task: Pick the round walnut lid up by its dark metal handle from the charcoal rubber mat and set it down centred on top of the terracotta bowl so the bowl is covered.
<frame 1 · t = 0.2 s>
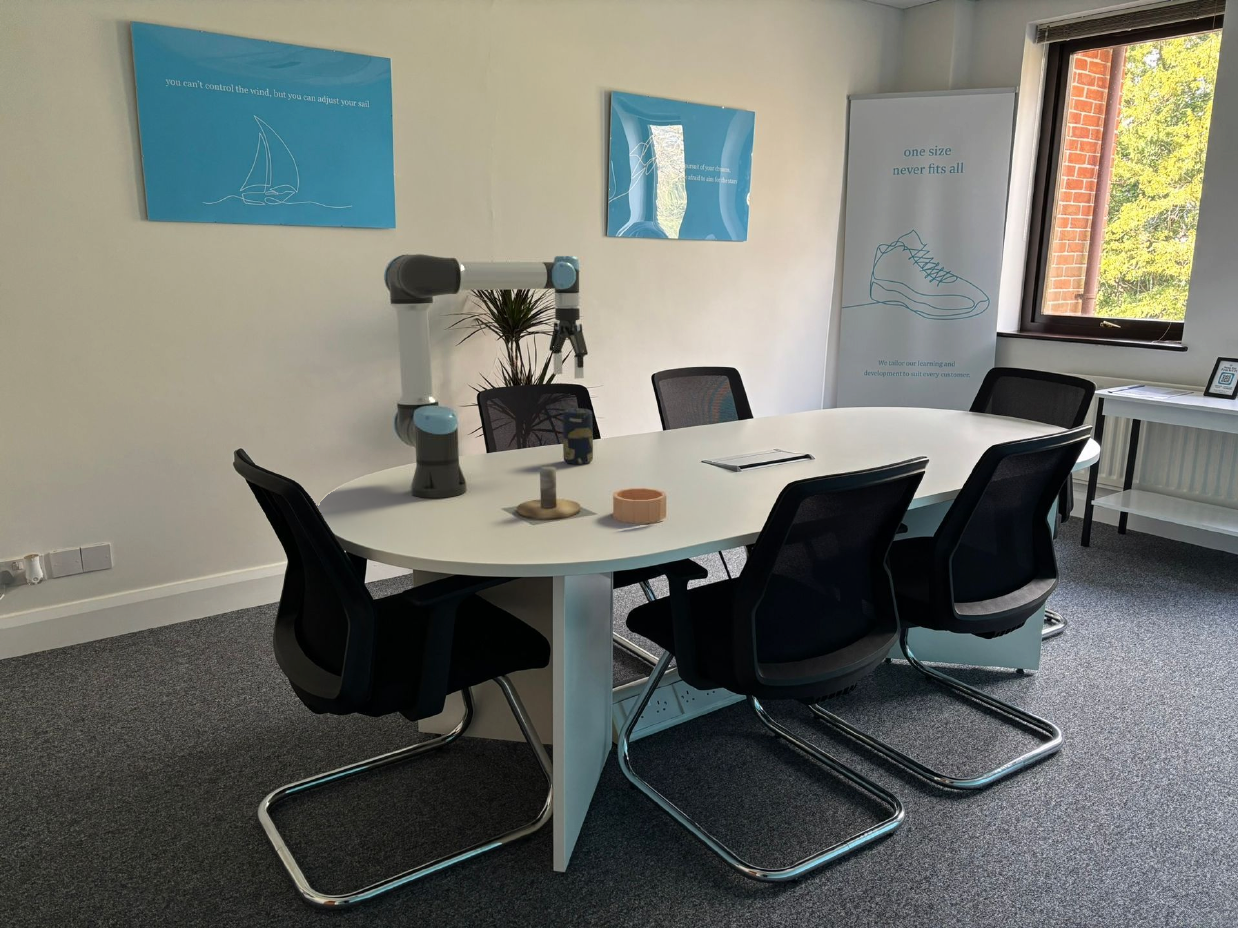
hand: (568, 376, 282), 28 cm above the table, fingers open, 13 cm apart
bowl: (639, 517, 224), on the table
canister: (578, 462, 289), on the table
mat: (548, 513, 229), on the table
lid: (548, 511, 228), point 1 cm above the table, touching mat
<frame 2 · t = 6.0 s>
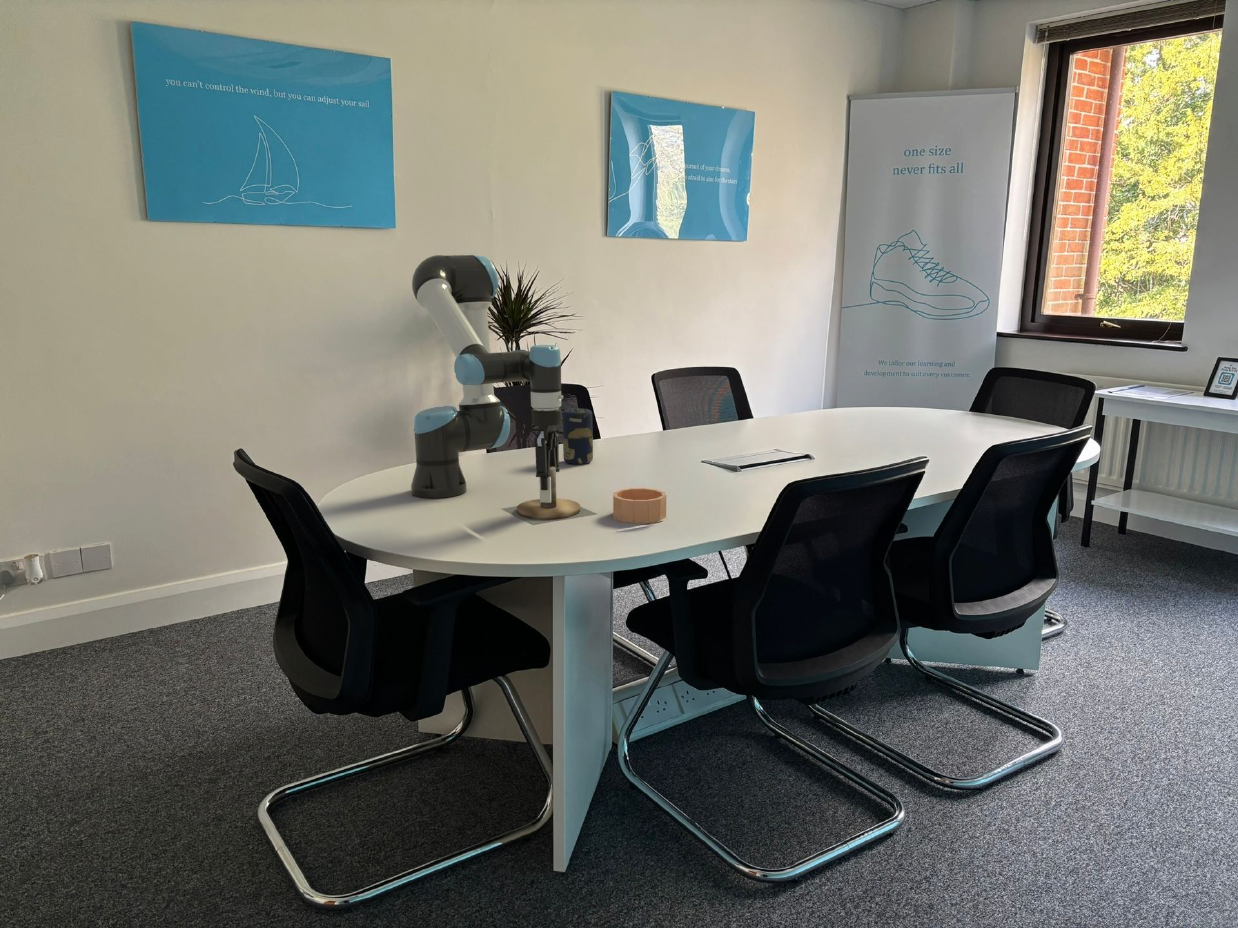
hand: (548, 499, 228), 4 cm above the table, fingers closed on lid, 4 cm apart
lid: (548, 510, 228), point 1 cm above the table, touching gripper
everything else where it was.
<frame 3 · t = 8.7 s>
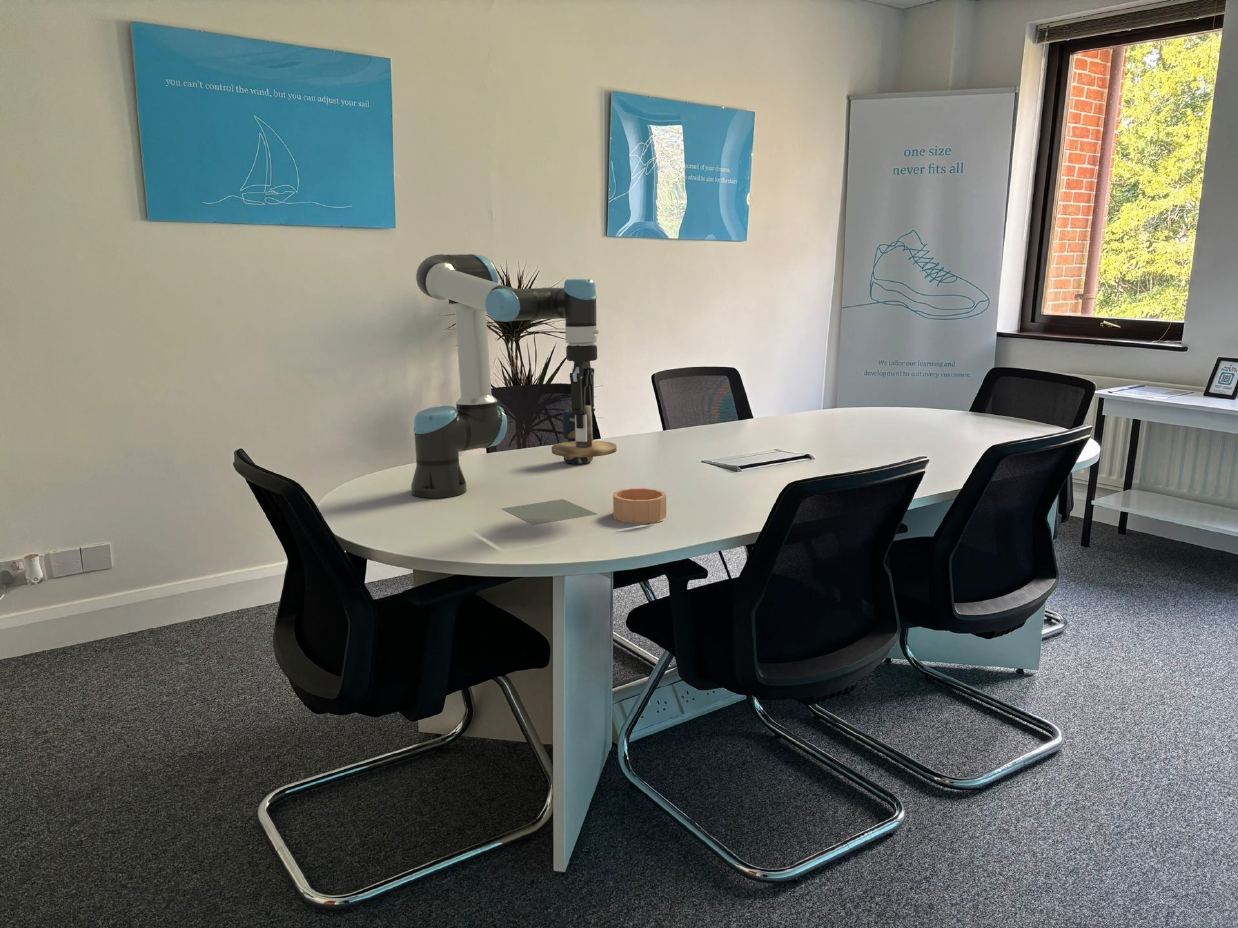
hand: (584, 439, 222), 20 cm above the table, fingers closed on lid, 4 cm apart
lid: (584, 451, 223), point 17 cm above the table, touching gripper
everything else where it was.
when the fingers open (10 cm above the table, at t = 11.7 s): lid drops 2 cm, resting on bowl.
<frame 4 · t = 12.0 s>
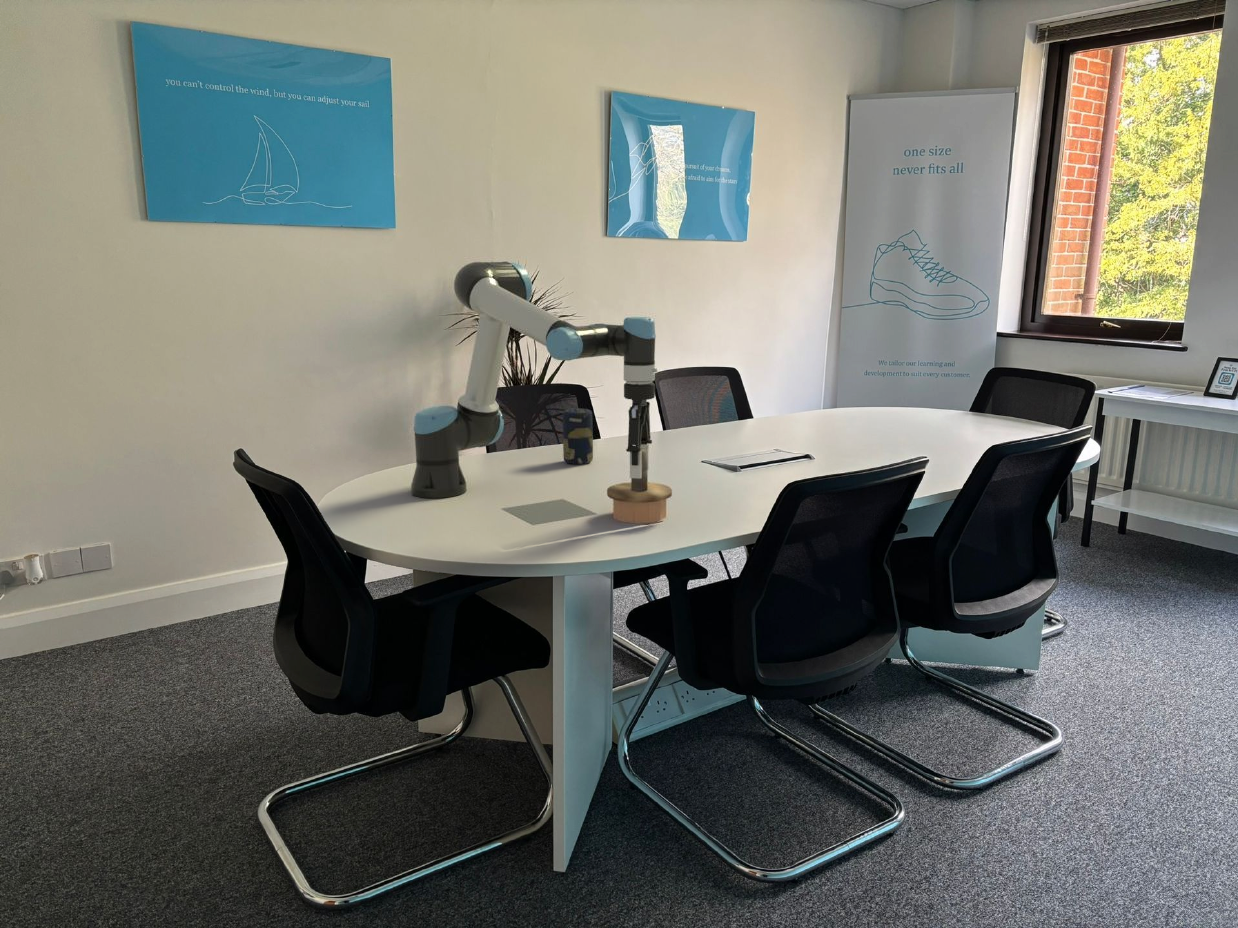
hand: (639, 473, 222), 11 cm above the table, fingers open, 8 cm apart
lid: (639, 494, 223), point 6 cm above the table, touching bowl
everything else where it was.
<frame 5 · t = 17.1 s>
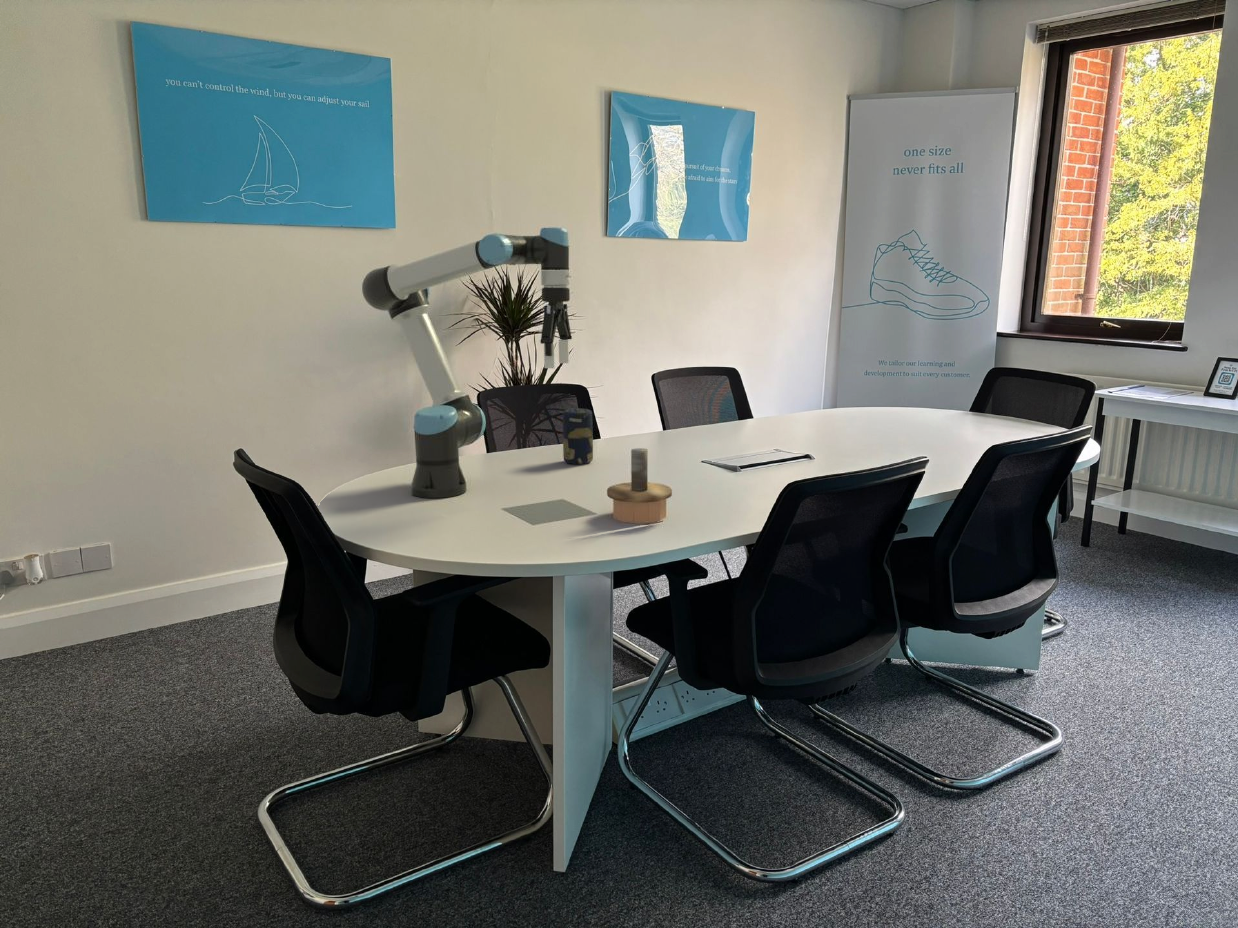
hand: (557, 365, 247), 35 cm above the table, fingers open, 13 cm apart
nothing on the table moved.
at the end: lid 0.0 cm off-centre on the bowl, point 6.0 cm above the bowl's base; lid tilted 0°; the gripper is holding nothing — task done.
